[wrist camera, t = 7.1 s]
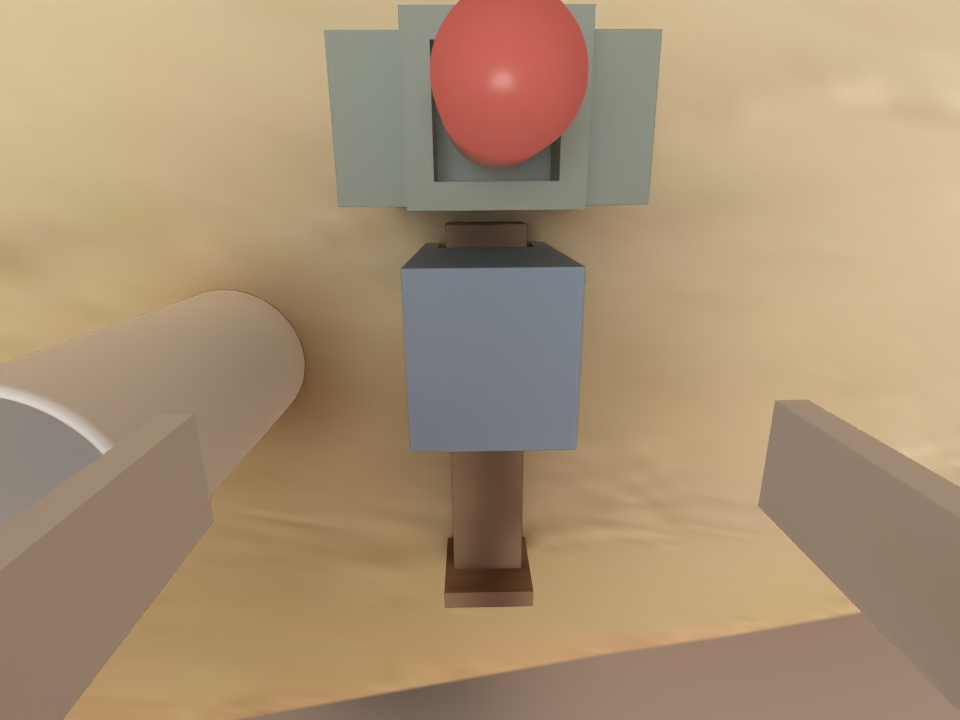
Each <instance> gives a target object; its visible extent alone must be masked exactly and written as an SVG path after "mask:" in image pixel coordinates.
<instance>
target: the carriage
mask: <svg viewBox="0 0 960 720" xmlns="http://www.w3.org/2000/svg"><path fill="white" fill-rule="evenodd" d="M584 282H585V267H584V266H583V265H581V264H579V263H578V262H576V261H574V260H573V259H571V258H569V257H568V256H566V255H564V254H563V253H561V252H559V251H558V250H556V249H554V248H553V247H551V246H549V245H548V244H546V243H544V242H530V243H529V247H488V248H441V244H440V243H427V244H425V245H424V246H423V247H422V248H421V249H420V250H419V251H418V252H417V253H416V254H415V255H414V256H413V257H412V258H411V259H410V260H409V261H408V262H407V263H406V264H405V265H404V266H403V267H402V268H401V283H402V303H403V322H404V342H405V362H406V381H407V401H408V420H409V440H410V452H464V451H528V450H576V446H577V425H578V405H579V384H580V364H581V343H582V323H583V302H584Z"/></svg>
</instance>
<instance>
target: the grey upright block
mask: <svg viewBox="0 0 960 720" xmlns="http://www.w3.org/2000/svg"><path fill="white" fill-rule="evenodd" d="M454 6H455V5H398V20H399V30H324V34H325V47H326V59H327V71H328V83H329V95H330V108H331V120H332V132H333V144H334V157H335V169H336V181H337V193H338V205H339V207H407V211H472V210H585V209H586V205H648V201H649V188H650V176H651V163H652V151H653V138H654V126H655V113H656V101H657V89H658V76H659V64H660V51H661V39H662V29H594V27H595V6H596V4H578V5H565V6H566V7H567V8H568V10H569V11H570V12H571V14H572V15H573V16H574V18H575V20H576V22H577V23H578V25H579V27H580V29H581V32H582V35H583V37H584V40H585V44H586V48H587V55H588V82H587V88H586V92H585V96H584V99H583V102H582V105H581V107H580V109H579V111H578V113H577V115H576V117H575V118H574V120H573V121H572V123H571V125H570V126H569V127H568V128H567V129H566V131H565V132H564V133H563V134H562V135H561V136H560V137H559V138H558V139H557V140H555V141H554V142H553V143H551V144H550V145H548V146H547V147H545V148H544V149H543V150H541V151H540V152H538V153H537V154H535V155H534V156H532V157H531V158H529V159H528V160H526V161H524V162H522V163H520V164H518V165H515V166H512V167H508V168H499V169H498V168H488V167H484V166H481V165H478V164H476V163H474V162H472V161H470V160H469V159H467V158H466V157H464V156H463V155H462V154H461V153H460V152H459V151H458V150H457V149H456V148H455V146H454V145H453V144H452V142H451V141H450V139H449V137H448V135H447V133H446V130H445V128H444V125H443V122H442V119H441V117H440V114H439V111H438V108H437V106H436V103H435V100H434V97H433V92H432V88H431V80H430V60H431V53H432V48H433V44H434V40H435V37H436V35H437V33H438V30H439V28H440V26H441V24H442V22H443V21H444V19H445V17H446V16H447V15H448V13H449V12H450V11H451V9H452V8H453V7H454Z"/></svg>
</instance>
